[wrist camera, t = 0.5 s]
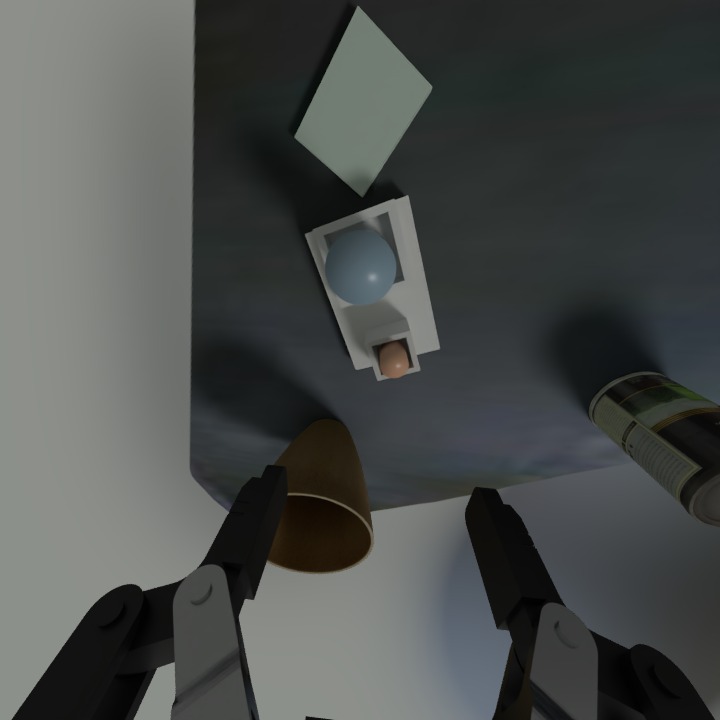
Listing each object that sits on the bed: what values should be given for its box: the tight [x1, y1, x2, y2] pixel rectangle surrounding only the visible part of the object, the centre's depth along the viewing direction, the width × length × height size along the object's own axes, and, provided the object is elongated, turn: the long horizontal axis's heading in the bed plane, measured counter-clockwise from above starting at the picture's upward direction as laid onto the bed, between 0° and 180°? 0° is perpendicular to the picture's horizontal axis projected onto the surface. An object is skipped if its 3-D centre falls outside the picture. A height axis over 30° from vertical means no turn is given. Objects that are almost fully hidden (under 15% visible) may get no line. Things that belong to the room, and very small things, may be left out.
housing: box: [305, 195, 440, 381], centre depth 29 cm, size 11×17×6 cm, turn 18°
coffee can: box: [589, 372, 720, 527], centre depth 30 cm, size 10×10×14 cm
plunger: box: [379, 340, 409, 378], centre depth 29 cm, size 3×3×4 cm
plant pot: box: [267, 419, 374, 574], centre depth 36 cm, size 15×15×16 cm
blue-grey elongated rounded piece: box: [325, 230, 396, 305], centre depth 23 cm, size 5×5×10 cm
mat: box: [295, 6, 432, 198], centre depth 24 cm, size 10×8×1 cm
